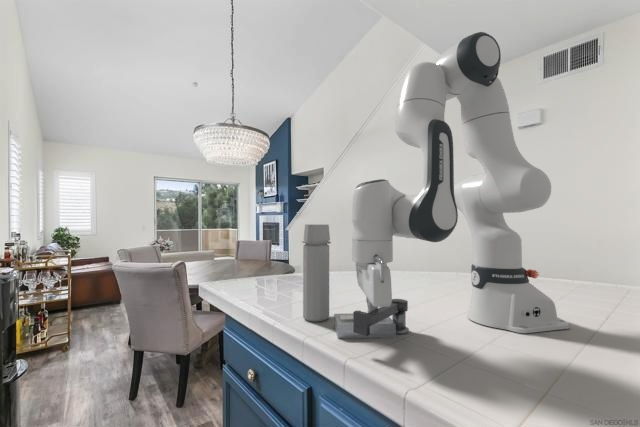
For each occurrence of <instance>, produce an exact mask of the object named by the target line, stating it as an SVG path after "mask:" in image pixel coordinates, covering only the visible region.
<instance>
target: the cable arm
mask: <svg viewBox="0 0 640 427" xmlns="http://www.w3.org/2000/svg"><path fill="white" fill-rule="evenodd" d="M408 304H409V302H408V300H406V299H402V298H392V303H391V306H390V307H378V309H376V310H373V311H371V312H369V313H368V312H366V311H361V310H354V311H353V312H352V313H353V332H354V333H358V334H361V335H365V336H368V335H370V326H372V325H374V324H376V323H378V322H380V321H382V320H384V319H385V318H387V317H391V316H392V315H393V314H395V313H397V312H406V313H407V312H408V309H409V308H408V307H409V306H408Z"/></svg>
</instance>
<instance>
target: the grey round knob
mask: <svg viewBox="0 0 640 427" xmlns="http://www.w3.org/2000/svg"><path fill="white" fill-rule="evenodd" d="M406 313H407V311H406V312H397V313H395V314H393V315H391V316H392V318H391V319H392V320H393V321H394V322H395V324H396V335H406V334H409V331H410V328H409V327H407V326H406V321H407V320H406V318H407V317H406V315H407V314H406Z"/></svg>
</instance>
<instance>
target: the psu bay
mask: <svg viewBox="0 0 640 427" xmlns="http://www.w3.org/2000/svg"><path fill="white" fill-rule="evenodd" d="M333 316H334V317H333V323H334V324H333V327H334V330H335V334H336V336H337V339H377V338H378V339H385V338H387V339H388V338H389V339H390V338H391V339H393V338H397V334H396V324H395V322H394V321H393V320H392V318H391V316H389V317H387V318H385V319H384V320H382V321H380V322H378V323H376V324H374V325H372V326H370V335H368V336H365V335H361V334H358V333H354V332H353V312H352V313H334V314H333Z"/></svg>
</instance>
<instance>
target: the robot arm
mask: <svg viewBox="0 0 640 427" xmlns="http://www.w3.org/2000/svg"><path fill="white" fill-rule="evenodd" d="M501 56H502V54H501V48H500V45H499V43H498V41H497V40H496V39H495V38H494V37H493V36H492V35H491V34H489V33H487V32H483V31H479V32H475V33H472V34H470V35H468V36H466V37H464V38H462V39H461V40H460V42H458V43H456V44H455V45H452V46H451V47H449V48H448V49H446V50H445V51H444V52H442V53H441V54H440V55H439V56H438V57H437V58H436V59H435V60H434V61H431V62H430V61H427V62H426V61H424V62H420V63H416V64H415V65H413V66H412V67H411V68H409V69H408V71H407V72H406V74H405V77H404V80H403V82H402V85H401V89H400V91H399V95H398V101H397V106H396V112H395V119H394V127H395V132H396V135H397V136H398V138H399V139H400V140H401V141H402V142H403V143H404V144H406V145H409V146H412V147H414V148H417V149H421V152H422V153H423V167H422V168H423V173H422V174H423V177H422V178H423V180H422V189H421V190H420V191H419V193H417V194H413V195H409V194H408V195H407V194H406V193H403V192H402V191H399V190H398V189H396V188H395V187H394V186H393V185H391V183H390V181H389V179H384V178H383V179H382V178H381V179H375V180H369V181H364V182H360V183H359V184H357V185H356V186H355V188H354V191H353V195H352V203H351V204H352V208H351V221H352V224H353V232H352V236H351V256H352V257H351V260H352V261H353V262H355V271H356V280H357V284H358V287H359V288H360V290H362V291H361V292H363V294H364V295H365V298H366V300H365V301H366V304H367V313H369V312H371V311H373V310H376V309H378V308H380V307H390V306H391V303H392V299H393V293H392V292H393V291H392V276H391V269H390V267H389V266H388V264H389V263H392V262H393V261H394V260H393V259H394V254H393V252H394V249H393V246H394V245H393V242H394V240H393V236H394V237H398V238H399V237H401V238H406V239H415V240H417V239H419V240H422V241H426V242H430V243H439V242H442V241H444V240H446V239H447V238H448V237H449V236H450V235H451V234H452V233H453V232H454V230H455V229H456V226H457V223H458V218H459V215H458V214H459V213H458V210H459V211H460V212H461V213H462V215H463V216H464V218H465V220H466V222H467V225H468V227H469V231H470V234H471V240H472V264H471V266H470V268H471V270H470V271H471V272H470V273H471V286H472V287H471V288H472V289H471V290H472V291H471V297H470V302H469V303H470V304H469V308H468V312H467V314H466V317H467V318H468V320H470V321H472V322H474V323H477V324H479V325H483V326H487V327H490V328H496V329H502V330H507V331H511V332H514V333H518V334H531V333H539V332H540V333H541V332H548V331H549V332H551V331H559V330H568V329H570V328H571V327H570V324H569V322H567V321H566V320H564V319H562V318H560V317H559V316H558V314H557V308H556V304H555V303H554V301H553V299H551V297H549V296H548V295H547V294H545V293H544V292H542V290H540V289H538V288H537V287H535V285H533V284H532V283H530V279H529V278H532V279H538V277H539V275H540V274H539V272H538V271H537V270H536V269H525V267H523V258H522V257H523V255H522V254H523V253H522V251H523V250H522V249H523V248H522V242H523V241H522V238H521V236H520V234H519V233H518V232H516V231H515V230H513V229H512V228H511V227H510V226H509V225H508V224H507V222H506V220H505V218H504V217H505V216H504V214H513V213H523V212H528V211H532V210H535V209H540V208H542V207H543V206H544V205H545V204H547V202H548V201H549V200H550V197H551V194H552V182H551V179H550V178H549V176H548V175H547V173H545V171H543V170H542V169H540V168H538V167H536V166H534V165H532V164H531V163H530V162H528V160H527V159H526V158H525V157H524V156H523V154H522V153H521V152H520V150H519V148H518V146H517V143H516V140H515V136H514V131H513V125H512V120H511V115H510V114H511V113H510V108H509V103H508V99H507V95H506V92H505V89H504V86H503V84H502V81H501V79H500V78H498V75H499V71H500V66H501V60H502V59H501ZM454 98H456V99H457V100H458V102H459V103H460V117H461V126H462V133H463V140H464V147H465V153H466V154H467V155H468V156H469V157H471V158H473V159H476V160H477V161H478V162H479V163H480V164H481V166H482V167H483V170H484V173H480V174H475V175H471V176H469V177H466V178H464V179H462V180H459V181H458V182H457V183H455V182H454V181H455V179H454V178H455V174H454V173H455V172H454V171H455V170H454V167H455V166H454V165H455V164H454V140H453V139H454V138H453V132H452V130H451V127H450V125H449V124H448V123H447V122H446V121H445V120H446V119H445V112H446V104H447V103H446V101H449V100H451V99H454Z"/></svg>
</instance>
